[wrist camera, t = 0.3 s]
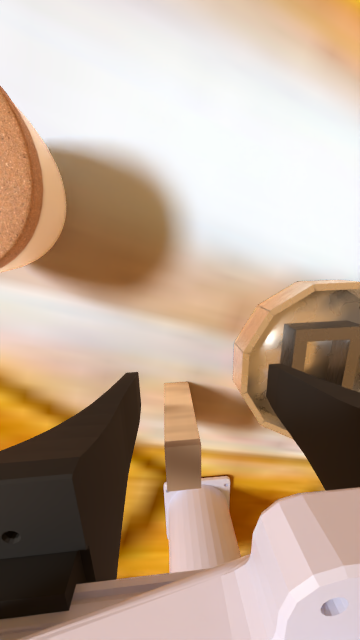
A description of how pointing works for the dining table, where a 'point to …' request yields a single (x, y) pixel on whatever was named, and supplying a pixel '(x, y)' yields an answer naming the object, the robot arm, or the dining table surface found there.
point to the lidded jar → (26, 191)
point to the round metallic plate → (299, 341)
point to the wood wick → (181, 439)
